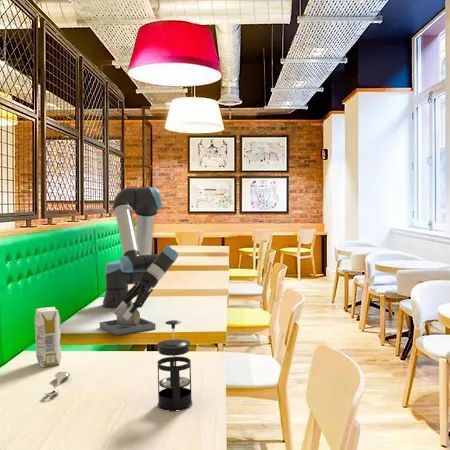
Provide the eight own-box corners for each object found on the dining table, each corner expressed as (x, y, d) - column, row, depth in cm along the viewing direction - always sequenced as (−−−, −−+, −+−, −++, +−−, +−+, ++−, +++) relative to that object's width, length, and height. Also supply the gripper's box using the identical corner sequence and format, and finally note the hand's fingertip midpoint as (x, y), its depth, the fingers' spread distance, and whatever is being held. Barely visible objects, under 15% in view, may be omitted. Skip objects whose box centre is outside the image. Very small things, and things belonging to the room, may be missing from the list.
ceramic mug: (133, 327, 233) (133, 309, 233) (116, 326, 235) (116, 308, 235) (144, 322, 243) (144, 305, 243) (127, 321, 245) (127, 304, 245)
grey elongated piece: (57, 386, 154) (40, 387, 154) (57, 399, 154) (40, 400, 154) (71, 369, 174) (56, 369, 174) (72, 380, 174) (57, 380, 174)
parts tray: (99, 327, 240) (99, 322, 240) (137, 321, 250) (137, 316, 250) (116, 335, 225) (116, 329, 225) (155, 329, 235) (155, 323, 235)
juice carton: (39, 368, 183) (37, 312, 182) (35, 362, 191) (33, 308, 190) (62, 365, 186) (60, 310, 185) (57, 358, 194) (55, 305, 193)
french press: (156, 399, 153) (154, 317, 152) (190, 396, 155) (188, 315, 154) (158, 415, 142) (156, 327, 140) (195, 412, 143) (192, 325, 142)
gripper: (169, 284, 236) (137, 326, 228) (146, 278, 254) (115, 317, 246) (158, 273, 233) (124, 315, 225) (136, 268, 251) (104, 307, 243)
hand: (120, 316), depth 235 cm, fingers closed on ceramic mug, 9 cm apart
